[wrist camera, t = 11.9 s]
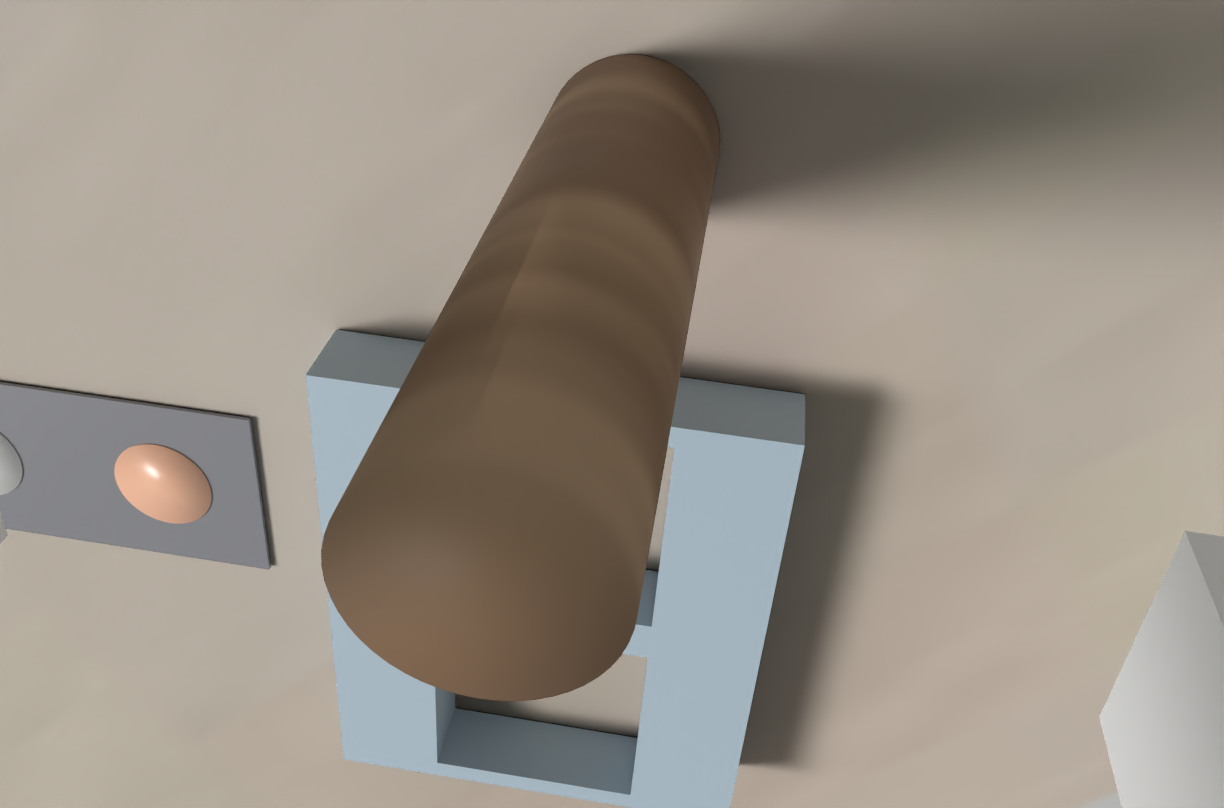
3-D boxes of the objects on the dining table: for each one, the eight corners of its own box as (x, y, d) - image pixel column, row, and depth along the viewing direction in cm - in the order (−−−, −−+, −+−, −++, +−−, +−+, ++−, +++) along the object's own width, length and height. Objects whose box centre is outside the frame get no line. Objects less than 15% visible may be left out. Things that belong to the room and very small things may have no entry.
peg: (551, 44, 20) (308, 437, 11) (730, 65, 20) (652, 487, 10) (544, 209, 22) (332, 675, 12) (709, 229, 22) (625, 722, 12)
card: (-144, 360, 27) (-148, 364, 27) (250, 418, 26) (248, 421, 26) (-89, 510, 30) (-93, 514, 29) (270, 566, 29) (268, 570, 29)
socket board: (336, 329, 24) (305, 375, 23) (805, 394, 24) (804, 445, 22) (365, 706, 31) (343, 759, 30) (730, 765, 31) (726, 823, 29)
